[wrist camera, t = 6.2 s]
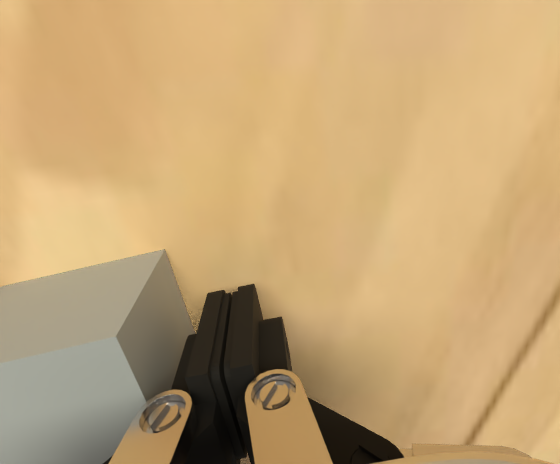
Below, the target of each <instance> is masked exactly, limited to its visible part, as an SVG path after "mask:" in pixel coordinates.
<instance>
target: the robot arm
mask: <svg viewBox="0 0 560 464" xmlns="http://www.w3.org/2000/svg"><path fill="white" fill-rule="evenodd" d="M247 452H248V455H249V459H250V462H251V464H553V463H549V462H545V461H542V460H538V459H533V458H531V457H530V456H529V455H527V454H525V453H523V452H521V451H518V450H516V449H514V448H508V447H503V446H478V445H442V444H412V449H398V448H397V447H396V446H395V445H394V444H392V443H391V442H390V441H388V440H387V439H385V438H383V437H381V436H379V435H378V434H376V433H374V432H372V431H370V430H368V429H366V428H364V427H363V426H361V425H359V424H357V423H355V422H353V421H351V420H349V419H347V418H346V417H344V416H342V415H340V414H338V413H336V412H334V411H332V410H331V409H329V408H327V407H325V406H323V405H321V404H319V403H317V402H316V401H314V400H312V399H310V398H308V397H307V395H306V393H305V390H304V388H303V385H302V382H301V381H300V379H299V377H298V376H297V375H296V374H294V373H293V372H292V366H291V359H290V353H289V348H288V342H287V337H286V333H285V328H284V323H283V319H282V317H277V318H272V319H267V320H263V317H262V313H261V308H260V304H259V300H258V296H257V292H256V288H255V285H254V284H251V285H246V286H241V287H238V291H237V292H233V295H232V294H231V293H227V294H226V292H225V291H224V290H221V291H216V292H211V293H208V294H207V297H206V301H205V305H204V308H203V312H202V316H201V319H200V323H199V327H198V330H197V334H192V335H189V336H188V337H187V339H186V342H185V346H184V349H183V352H182V355H181V359H180V362H179V365H178V368H177V372H176V375H175V378H174V381H173V384H172V388H171V390H169V391H165V392H162V393H160V394H158V395H156V396H154V397H153V398H151V399H150V400H148V401H147V402H146V403H145V404H144V405H143V406H142V407H141V408H140V410H139V411H138V412H137V414H136V415H135V417H134V419H133V421H132V422H131V424H130V426H129V428H128V430H127V431H126V433H125V435H124V437H123V439H122V440H121V442H120V444H119V446H118V448H117V449H116V451H115V453H114V455H113V456H111V457H110V458H109V459H108V460H107V461H105V462H104V463H103V464H240V459H241V458H246V456H247Z"/></svg>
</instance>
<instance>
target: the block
mask: <svg viewBox="0 0 560 464" xmlns="http://www.w3.org/2000/svg"><path fill="white" fill-rule="evenodd" d="M192 334H195V331H194V328H193V326H192V323H191V320H190V317H189V315H188V312H187V309H186V306H185V303H184V301H183V298H182V295H181V292H180V290H179V287H178V284H177V281H176V279H175V276H174V273H173V270H172V267H171V265H170V262H169V259H168V256H167V254H166V251H165V249H164V250H159V251H155V252H151V253H146V254H142V255H138V256H133V257H129V258H124V259H120V260H116V261H111V262H107V263H102V264H98V265H94V266H89V267H85V268H81V269H76V270H72V271H67V272H63V273H59V274H54V275H50V276H46V277H41V278H37V279H32V280H28V281H24V282H19V283H15V284H10V285H6V286H2V287H0V464H103V463H104V462H105V461H107V460H108V459H109V458H110V457H111V456H113V455H114V453H115V451H116V449H117V448H118V446H119V444H120V442H121V440H122V439H123V437H124V435H125V433H126V431H127V430H128V428H129V426H130V424H131V422H132V421H133V419H134V417H135V415H136V414H137V412H138V411H139V410H140V408H141V407H142V406H143V405H144V404H145V403H146V402H147V401H148V400H150V399H151V398H153V397H154V396H156V395H158V394H160V393H162V392H165V391H169V390H171V388H172V384H173V381H174V378H175V375H176V372H177V368H178V365H179V362H180V359H181V355H182V352H183V349H184V346H185V342H186V339H187V337H188V336H189V335H192Z"/></svg>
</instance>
